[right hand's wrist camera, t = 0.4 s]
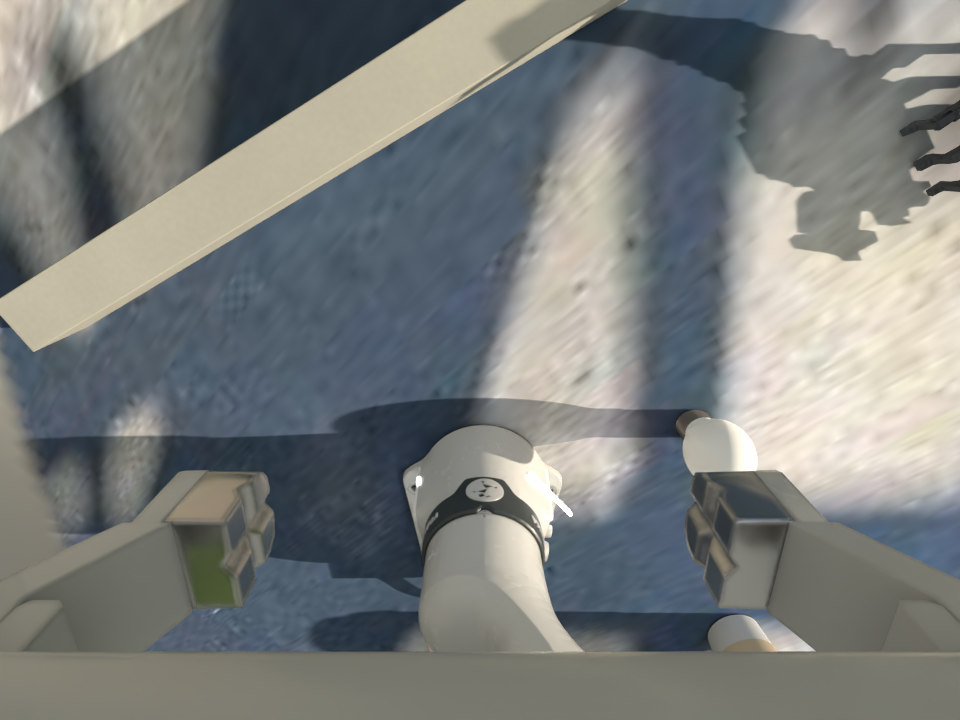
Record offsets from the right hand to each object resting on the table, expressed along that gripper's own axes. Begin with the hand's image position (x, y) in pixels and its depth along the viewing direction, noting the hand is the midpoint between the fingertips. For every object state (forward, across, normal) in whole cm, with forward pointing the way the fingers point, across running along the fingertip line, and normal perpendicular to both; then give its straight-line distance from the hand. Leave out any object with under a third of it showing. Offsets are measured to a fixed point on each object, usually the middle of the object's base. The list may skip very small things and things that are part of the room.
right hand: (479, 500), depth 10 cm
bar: (+47, -15, +6) cm, 50 cm away
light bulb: (+47, +25, -23) cm, 58 cm away
